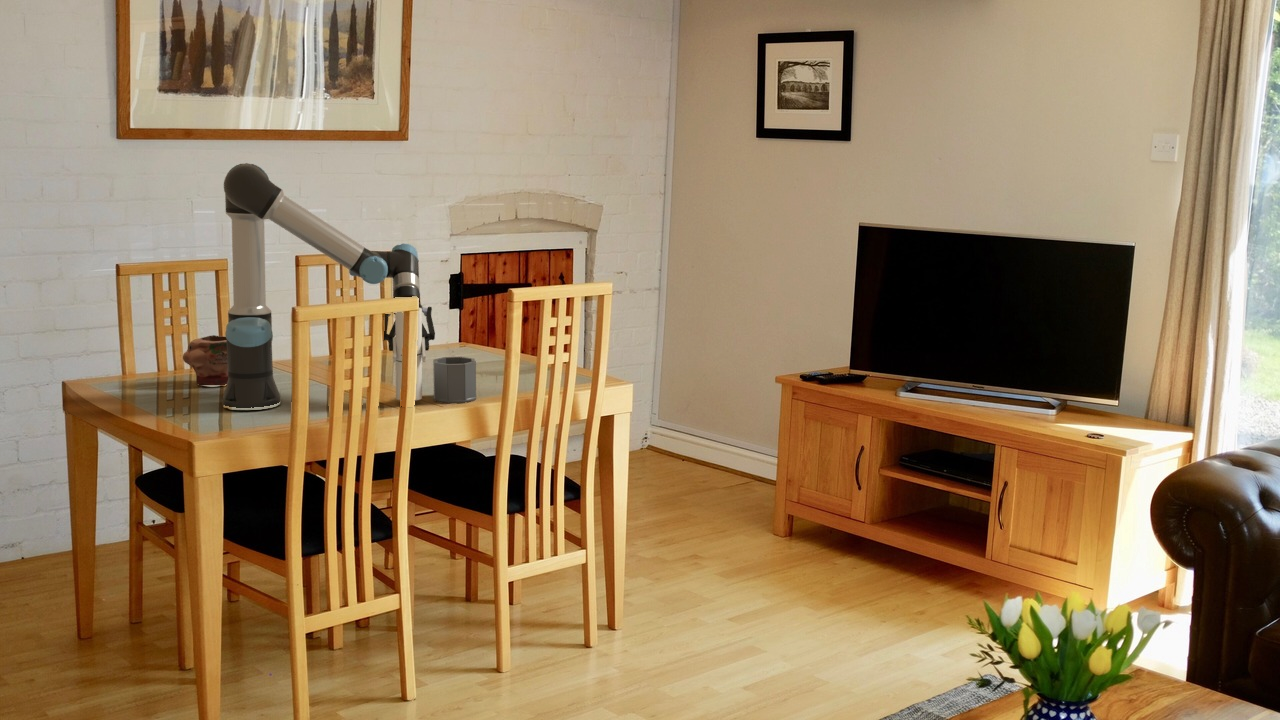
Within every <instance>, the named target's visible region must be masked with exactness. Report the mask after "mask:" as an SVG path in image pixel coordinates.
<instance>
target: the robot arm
mask: <svg viewBox="0 0 1280 720" xmlns="http://www.w3.org/2000/svg"><path fill="white" fill-rule="evenodd" d="M223 191H224V192H223V193H224V196H225V199H224V200H225V201H224V202H225V214H226V215H227V216H228V217H229V218H230V219H231V248H232V249H231V251H232V254H231V255H232V289H233V290H232V294H233V305H232V306H231V308H229V310H227V317H228V320H227V324H226V327H225V331H224V332H225V333H224V335H225V337H226V340H227V361H228V382H227V385H226V387H225V389H224V393H223V396H222V406H223V405H225V406H229V407H236V408H251V407H252V408H254V407H264V406H270V405H274V404H277V403H279V402H280V401H281V400H282V399H281V395H280V392H279V389H278V387H277V383H276V380H275V378H274V373H273V372H274V371H273V370H274V369H273V368H274V366H273V345H272V344H273V335H274V333H273V326H272V325H273V324H272V322H273V320H272V319H273V318H272V310H271V309H270V308H269V307H268V306H267V302H266V253H265V252H266V250H265V249H266V247H265V246H266V245H265V244H266V243H265V242H266V241H265V221H266V220H268V221H269V220H270V221H271V222H273V223H274V224H276V225H278V226H279V227H280V228H282V229H284V230H286V231H287V232H289V233H290V234H292V235H293V236H295V237H296V238H298V239H299V240H301V241H303V242H304V243H306V244H307V245H309V246H311V247H312V248H314V249H316V250H317V251H318V252H320V253H322V254H323V255H325V256H327V258H330V259H331V260H333V261H335V262H336V263H338V264H339V265H340V266H343V267H344V268H345V269H348V273H349V275H350V276H351V277H352V276H353V277H358V278H361V279H362V281H363V282H366V283H367V284H370V285H377V284H380V283H382V282H383V281H384V280H385V279H386V278H387V279H389V278H391V279H392V299H393V298H395V297H412V296H417V297H418V298H419V308H422V314H423V316H424V317H425V321H426V325H427V329H428V331H427V329H426V328H425V326H424V324H423V322H422V363H426V351H427V352H428V351H429V349H430V341H434V340H435V339H436V337H435V336H436V332H435V331H436V330H435V326H434V322H433V318H432V311H433V309H432V306H428V307H423V305H422V304H421V293H420V292H421V288H420V285H421V284H420V270H419V269H420V268H419V267H420V266H419V264H420V263H419V258H418V257H419V256H418V251H417V248H416V247H415V246H413V245H412V244H409V243H401V244H396V245H394V247H393V248H392V249H391V250H390V251H381V250H369V249H368V248H366V247H364V246H363V245H362V244H360V243H358V242H357V241H355V240H354V239H352V238H351V237H349V236H348V235H346V234H345V233H343V232H342V231H340V230H338V229H337V228H335V227H334V226H332V225H330V223H328V222H326V221H325V220H323V219H322V218H320V217H319V216H317V215H316V214H314V213H312V212H310V211H309V210H307V209H306V208H304V207H302V206H301V205H300V204H298V203H297V202H295V201H293V199H290V198H289V197H287V196H286V195H285V194H284V191H283V189H282V188H280V187H279V186H277V185H276V184H275V183H273V182H272V181H271V180H270V178H269V176H268V174H267V173H266V172H265V170H264V169H263V168H262V167H260V166H258V165H256V164H254V163H248V162H246V163H240V164H236V165H235V166H233V167H231V169H230V170H229V171H228V172H227V173H226V175H225V177H224V180H223ZM391 314H392V313H391ZM391 314H385V331H384V340H383V341H386V342H388V351H389V352H392V361H393V363H396V338H395V321H394V322H393V323H392V326H391V329H390V331H389V333H388V325H389V317H390V316H391ZM393 314H394V315H395V313H393Z"/></svg>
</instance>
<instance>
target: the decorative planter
mask: <svg viewBox="0 0 1280 720" xmlns="http://www.w3.org/2000/svg"><path fill="white" fill-rule="evenodd" d="M182 361H183V362H184V363H185V364H187V365H188V366H190V367H192V369H193V370H194V373H195V377H196V379H195V380H196V381H195V382H196V385H197V384H199V385H225V384H227V382H228V361H227V340H226V336H222V335H220V336H219V335H214V334H213V335H207V336H204V337H200V338H196V339H195V338H194V339H193V340H191V341H190V342H189V344H188V345H187V350H186V351H185V352H183V354H182ZM199 385H198V386H199Z"/></svg>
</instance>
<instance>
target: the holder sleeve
mask: <svg viewBox="0 0 1280 720" xmlns="http://www.w3.org/2000/svg"><path fill="white" fill-rule="evenodd" d="M432 360H433V361H432V362H433V364H432V365H433V367H432V368H433V369H432V370H433V374H432V375H433V401H434V400H436V401H438V402H437V403H440V402H443V403H442V404H450V403H457V404H466V403H465V402H467V403H472V402H474V401H476V400H477V362H476V361H477V360H475V358H473V357H466V356H444V357H438V358H434V359H432ZM436 401H435V402H436ZM471 401H472V402H471Z"/></svg>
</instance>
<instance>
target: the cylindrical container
mask: <svg viewBox="0 0 1280 720" xmlns="http://www.w3.org/2000/svg"><path fill="white" fill-rule="evenodd" d="M394 316H395V317H394V318H395V320H394V322H395V338H396V362H395V399H396V400H398V401H400V400H399V399H400V389H401V374H402V346H403V313H402V312H397V313H395V314H394ZM422 323H423V312H422V308H419V311H418V340H417V346H418V350H417V384H416V400H415V401H420V400H423V362H422Z"/></svg>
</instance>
